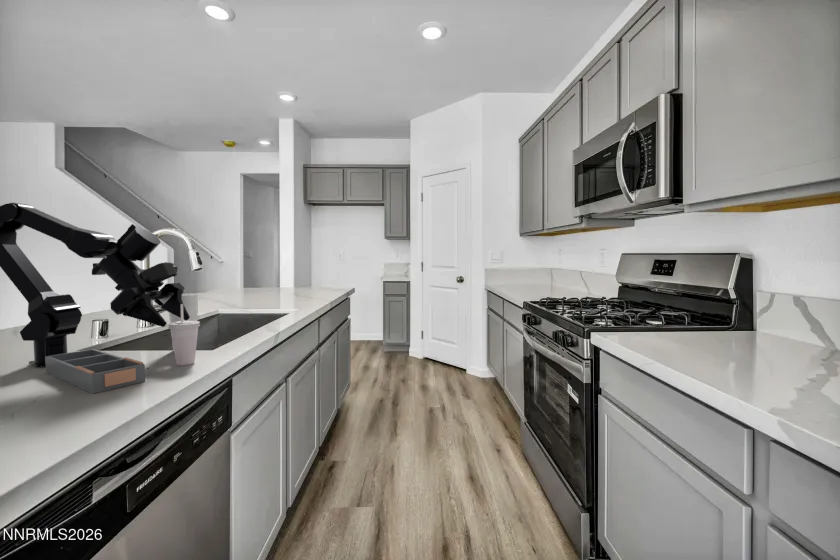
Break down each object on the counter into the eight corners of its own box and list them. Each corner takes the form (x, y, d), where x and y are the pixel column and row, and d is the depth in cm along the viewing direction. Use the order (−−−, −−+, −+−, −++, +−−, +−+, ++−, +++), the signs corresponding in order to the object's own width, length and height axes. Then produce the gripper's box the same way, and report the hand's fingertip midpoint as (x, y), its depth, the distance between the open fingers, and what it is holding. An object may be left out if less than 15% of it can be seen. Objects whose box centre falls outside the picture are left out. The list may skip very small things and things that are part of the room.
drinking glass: (185, 353, 103) (183, 296, 102) (163, 352, 105) (161, 295, 104) (204, 347, 110) (203, 293, 109) (183, 346, 111) (181, 293, 110)
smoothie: (183, 359, 98) (181, 302, 97) (207, 360, 97) (205, 303, 96) (162, 366, 91) (160, 305, 90) (188, 367, 90) (186, 306, 90)
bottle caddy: (45, 372, 86) (45, 355, 86) (94, 363, 93) (93, 347, 93) (93, 393, 73) (93, 373, 72) (146, 381, 80) (145, 363, 80)
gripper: (122, 249, 83) (177, 302, 84) (175, 251, 102) (220, 294, 102) (85, 287, 83) (141, 339, 84) (145, 282, 102) (190, 324, 103)
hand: (177, 322), depth 93 cm, fingers open, 9 cm apart
